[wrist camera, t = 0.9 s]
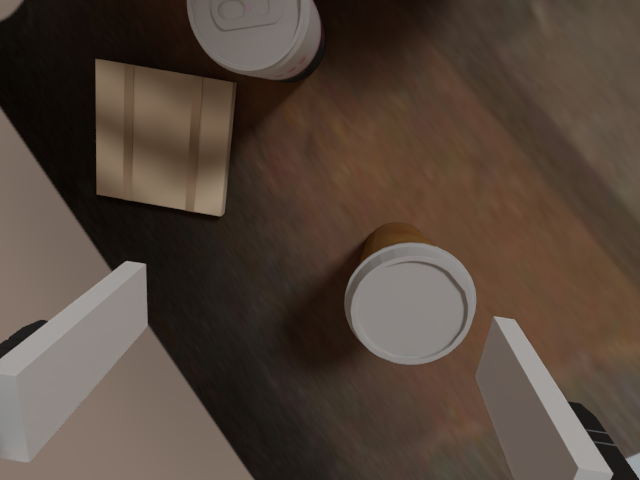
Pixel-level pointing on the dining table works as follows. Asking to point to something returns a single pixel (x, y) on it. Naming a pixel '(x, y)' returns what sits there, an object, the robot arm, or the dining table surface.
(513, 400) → the robot arm
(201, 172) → the trivet
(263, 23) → the beverage can
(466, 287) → the disposable coffee cup
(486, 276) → the dining table surface
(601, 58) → the dining table surface
